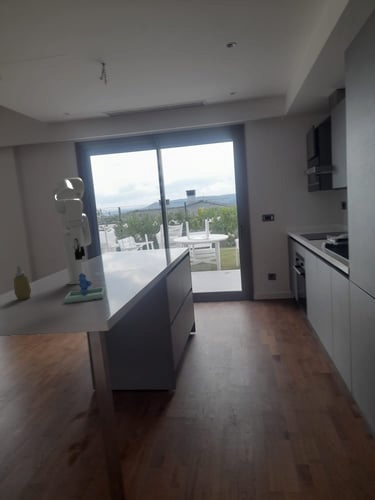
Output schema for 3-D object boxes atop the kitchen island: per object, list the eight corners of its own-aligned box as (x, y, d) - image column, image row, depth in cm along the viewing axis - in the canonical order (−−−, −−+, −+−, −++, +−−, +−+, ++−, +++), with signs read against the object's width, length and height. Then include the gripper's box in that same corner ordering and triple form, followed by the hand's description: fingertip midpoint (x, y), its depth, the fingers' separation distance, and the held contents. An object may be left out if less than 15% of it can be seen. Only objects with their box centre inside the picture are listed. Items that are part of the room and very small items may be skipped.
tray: (70, 296, 175) (69, 291, 175) (105, 291, 178) (104, 287, 178) (65, 303, 162) (64, 298, 161) (102, 298, 164) (102, 293, 164)
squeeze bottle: (25, 300, 176) (19, 267, 173) (12, 300, 177) (6, 267, 175) (35, 296, 183) (30, 264, 181) (22, 296, 185) (17, 264, 183)
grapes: (92, 297, 166) (89, 273, 165) (78, 299, 165) (75, 275, 163) (94, 291, 178) (91, 269, 176) (81, 293, 176) (78, 271, 175)
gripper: (71, 223, 173) (75, 255, 175) (64, 226, 156) (69, 262, 159) (85, 222, 174) (90, 254, 177) (80, 224, 157) (85, 260, 160)
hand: (80, 257), depth 168 cm, fingers open, 9 cm apart
